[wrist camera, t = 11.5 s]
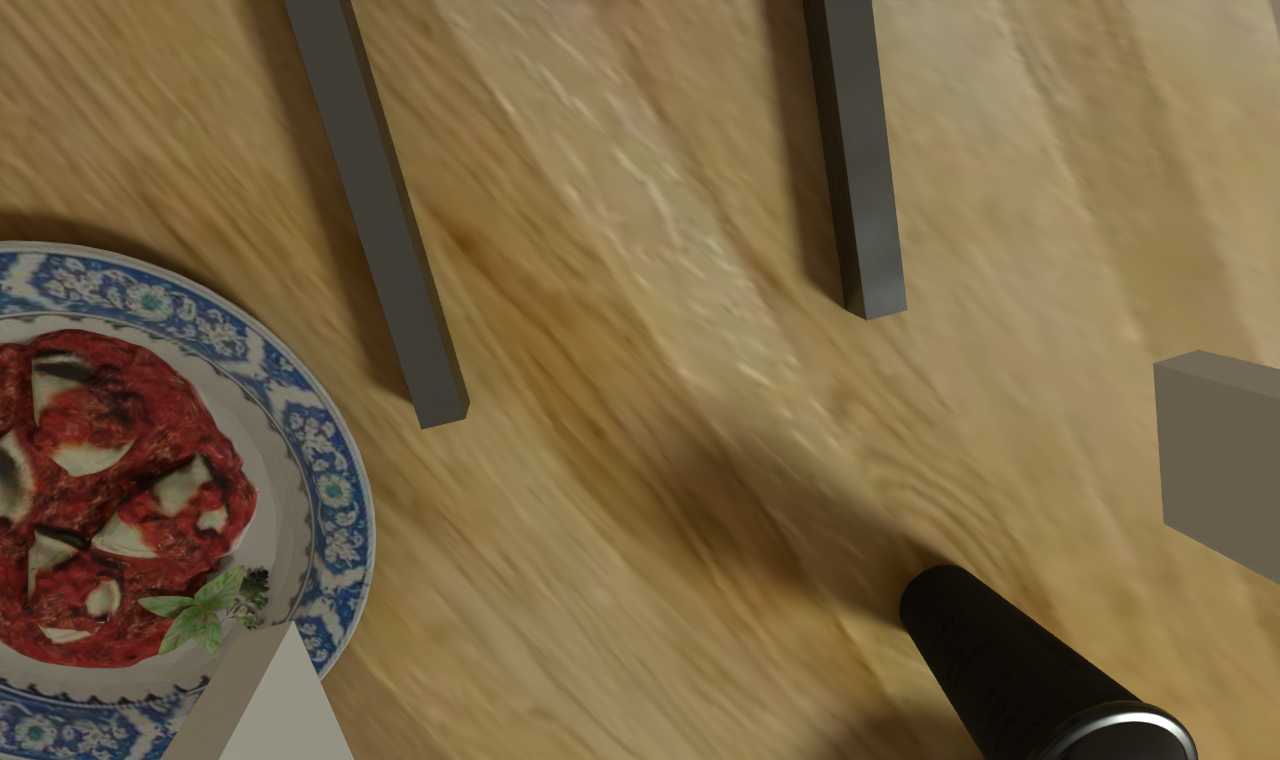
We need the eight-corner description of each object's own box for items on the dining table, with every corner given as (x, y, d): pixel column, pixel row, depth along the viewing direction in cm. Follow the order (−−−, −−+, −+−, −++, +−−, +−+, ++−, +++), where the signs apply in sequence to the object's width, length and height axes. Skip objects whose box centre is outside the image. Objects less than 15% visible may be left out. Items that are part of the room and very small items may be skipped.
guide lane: (429, 412, 37) (408, 458, 31) (231, -215, 29) (156, -308, 24) (884, 301, 38) (945, 325, 32) (806, -325, 31) (867, -438, 25)
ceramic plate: (-357, 426, 33) (-443, 451, 30) (153, 123, 32) (115, 118, 29) (63, 822, 40) (27, 871, 38) (484, 582, 40) (480, 613, 37)
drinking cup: (854, 583, 42) (1113, 926, 23) (977, 518, 42) (1339, 809, 23) (903, 683, 45) (1176, 1071, 25) (1019, 622, 44) (1382, 966, 25)
